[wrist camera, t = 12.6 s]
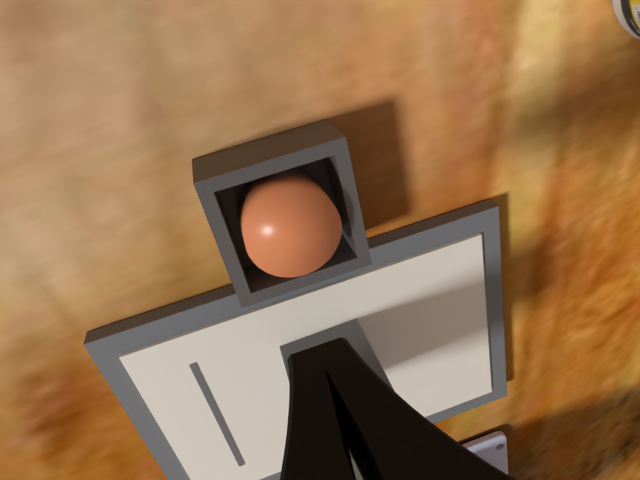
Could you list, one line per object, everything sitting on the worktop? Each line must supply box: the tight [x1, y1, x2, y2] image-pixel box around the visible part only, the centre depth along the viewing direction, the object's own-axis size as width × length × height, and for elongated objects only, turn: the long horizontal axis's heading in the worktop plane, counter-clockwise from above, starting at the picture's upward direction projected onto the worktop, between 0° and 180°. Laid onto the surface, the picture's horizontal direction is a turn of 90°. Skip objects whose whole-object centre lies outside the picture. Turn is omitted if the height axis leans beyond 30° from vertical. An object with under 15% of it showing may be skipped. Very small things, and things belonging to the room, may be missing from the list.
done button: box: [238, 169, 342, 278], centre depth 18 cm, size 3×3×2 cm
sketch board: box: [84, 199, 507, 480], centre depth 23 cm, size 12×18×1 cm, turn 103°
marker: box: [279, 319, 394, 480], centre depth 19 cm, size 4×4×8 cm
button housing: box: [192, 119, 372, 308], centre depth 18 cm, size 5×5×2 cm
